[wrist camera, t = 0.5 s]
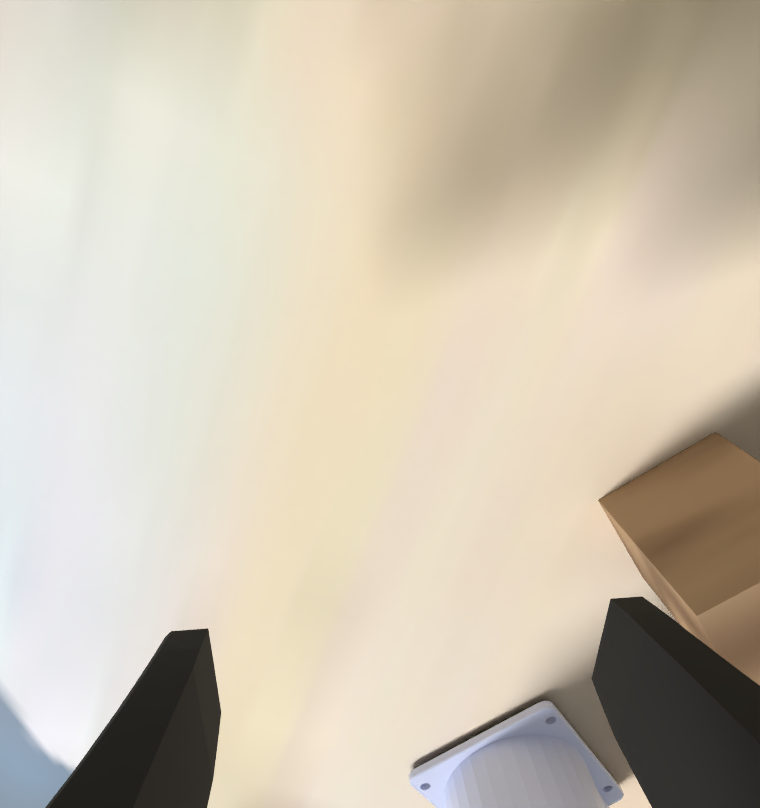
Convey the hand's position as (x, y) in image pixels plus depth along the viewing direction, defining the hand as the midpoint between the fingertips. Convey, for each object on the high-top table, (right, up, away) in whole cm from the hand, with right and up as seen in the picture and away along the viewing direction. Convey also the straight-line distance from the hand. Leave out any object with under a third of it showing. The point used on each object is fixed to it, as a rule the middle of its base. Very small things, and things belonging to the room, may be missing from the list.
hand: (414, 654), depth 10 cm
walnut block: (+11, 0, +12) cm, 16 cm away
